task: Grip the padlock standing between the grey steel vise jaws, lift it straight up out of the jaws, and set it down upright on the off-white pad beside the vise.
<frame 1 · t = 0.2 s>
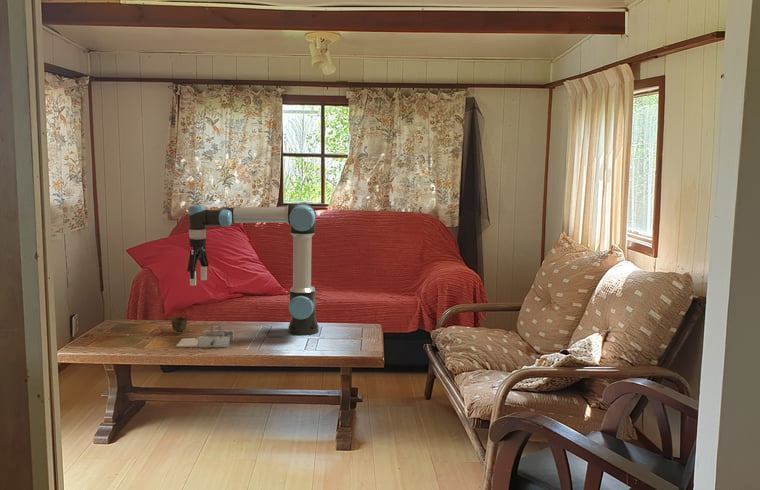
hand: (198, 282, 325), 27 cm above the table, tool pointing down, fingers open, 13 cm apart
vise: (216, 343, 321), on the table
padlock: (216, 343, 321), on the table
pad: (189, 343, 321), on the table
cup: (179, 334, 336), on the table
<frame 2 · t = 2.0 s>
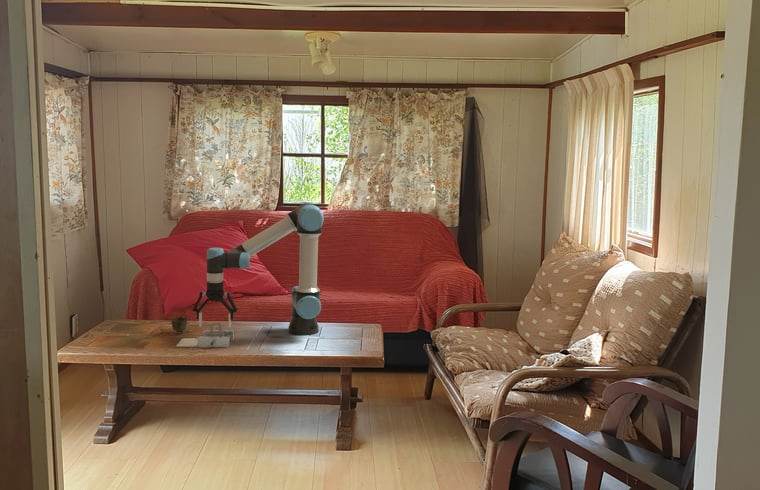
hand: (215, 326, 320), 8 cm above the table, tool pointing down, fingers open, 13 cm apart
nothing on the table moved.
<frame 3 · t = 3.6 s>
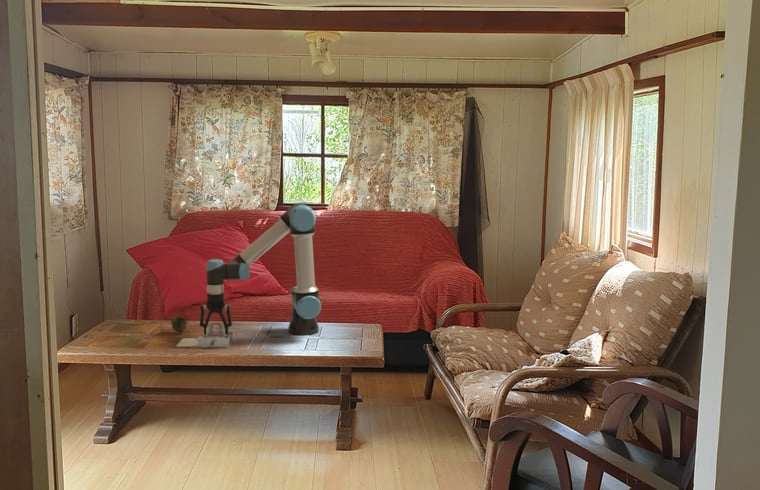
hand: (216, 340, 321), 1 cm above the table, tool pointing down, fingers closed on padlock, 7 cm apart
padlock: (216, 343, 321), on the table, touching gripper
everything else where it was.
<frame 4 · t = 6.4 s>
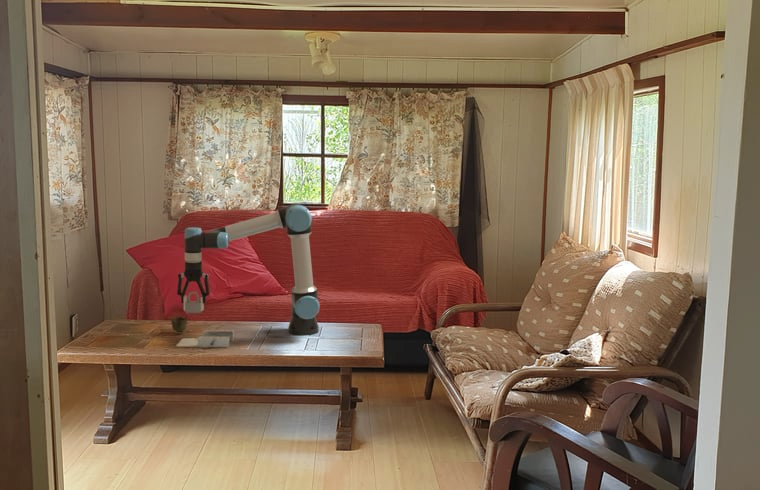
hand: (193, 310, 319), 16 cm above the table, tool pointing down, fingers closed on padlock, 7 cm apart
padlock: (193, 312, 319), point 15 cm above the table, touching gripper
everything else where it was.
when the fingers open (4 cm above the table, at t = 9.5 s): padlock drops 2 cm, resting on pad.
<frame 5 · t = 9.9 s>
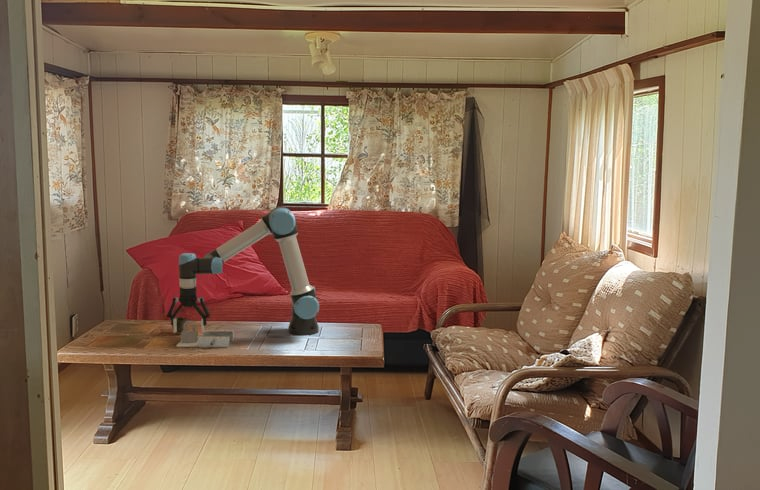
hand: (189, 332, 320), 5 cm above the table, tool pointing down, fingers open, 12 cm apart
padlock: (189, 342, 321), resting on pad
everything else where it was.
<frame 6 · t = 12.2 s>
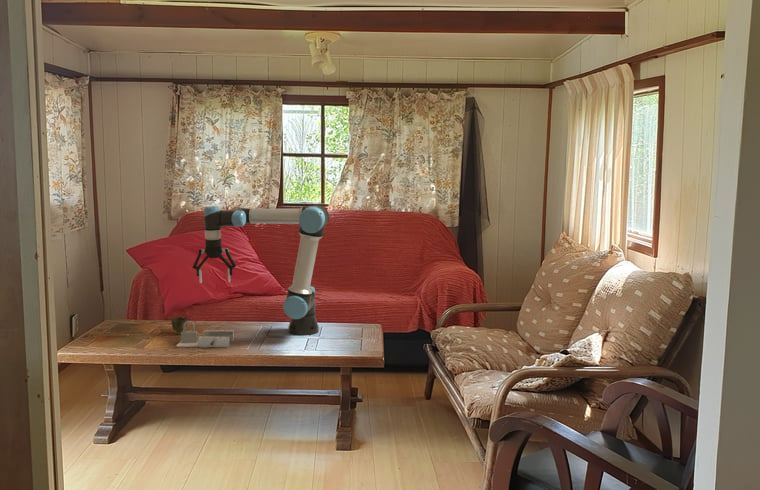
hand: (215, 282, 332), 26 cm above the table, tool pointing down, fingers open, 13 cm apart
nothing on the table moved.
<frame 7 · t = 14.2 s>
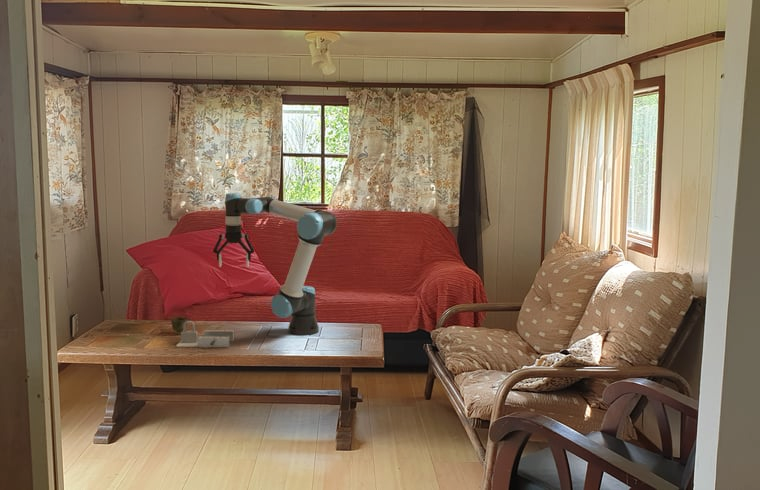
hand: (234, 266, 344), 32 cm above the table, tool pointing down, fingers open, 13 cm apart
nothing on the table moved.
at the end: padlock inside the target area on the pad (0.1 cm from its centre), point 0.4 cm above the pad's base; padlock tilted 0°; padlock touching pad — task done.
